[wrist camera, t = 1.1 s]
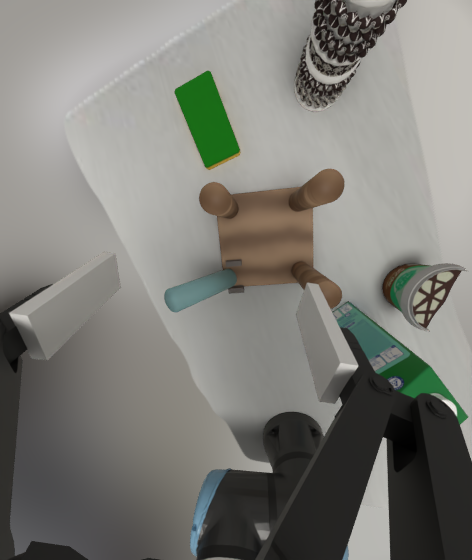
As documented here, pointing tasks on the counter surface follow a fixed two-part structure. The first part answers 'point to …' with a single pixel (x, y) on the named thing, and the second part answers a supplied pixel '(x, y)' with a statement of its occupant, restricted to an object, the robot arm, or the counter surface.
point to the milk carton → (395, 359)
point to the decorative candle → (339, 47)
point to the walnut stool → (273, 232)
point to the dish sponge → (207, 120)
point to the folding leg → (199, 289)
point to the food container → (420, 290)
